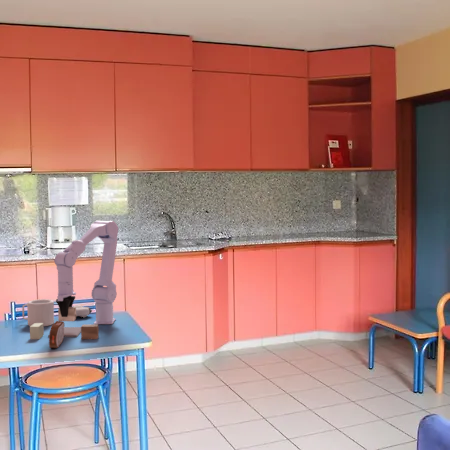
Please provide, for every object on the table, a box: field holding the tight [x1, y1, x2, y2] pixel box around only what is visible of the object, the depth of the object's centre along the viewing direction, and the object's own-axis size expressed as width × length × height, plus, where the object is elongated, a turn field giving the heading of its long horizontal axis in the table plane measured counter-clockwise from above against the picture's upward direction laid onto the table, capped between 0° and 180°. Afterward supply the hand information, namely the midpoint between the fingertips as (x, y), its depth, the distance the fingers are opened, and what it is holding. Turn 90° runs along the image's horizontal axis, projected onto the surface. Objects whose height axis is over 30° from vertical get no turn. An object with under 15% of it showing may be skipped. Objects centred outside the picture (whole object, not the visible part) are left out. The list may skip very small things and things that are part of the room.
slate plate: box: [48, 326, 81, 338], centre depth 232 cm, size 13×11×1 cm
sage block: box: [29, 323, 45, 340], centre depth 226 cm, size 4×6×5 cm, turn 2°
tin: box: [48, 320, 65, 349], centre depth 214 cm, size 15×3×8 cm, turn 4°
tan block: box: [57, 306, 77, 322], centre depth 232 cm, size 4×6×5 cm, turn 88°
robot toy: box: [72, 305, 93, 318], centre depth 264 cm, size 12×4×15 cm
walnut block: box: [80, 323, 100, 340], centre depth 224 cm, size 4×6×5 cm, turn 92°
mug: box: [21, 298, 55, 327], centre depth 247 cm, size 14×11×10 cm
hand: (66, 315), depth 232 cm, fingers closed on tan block, 3 cm apart
